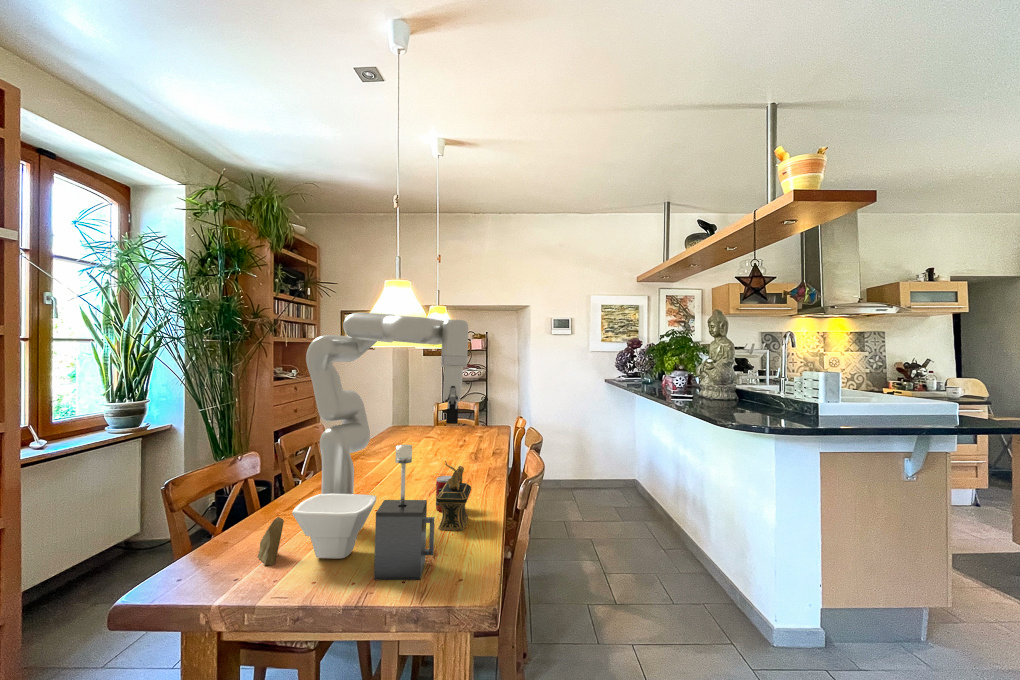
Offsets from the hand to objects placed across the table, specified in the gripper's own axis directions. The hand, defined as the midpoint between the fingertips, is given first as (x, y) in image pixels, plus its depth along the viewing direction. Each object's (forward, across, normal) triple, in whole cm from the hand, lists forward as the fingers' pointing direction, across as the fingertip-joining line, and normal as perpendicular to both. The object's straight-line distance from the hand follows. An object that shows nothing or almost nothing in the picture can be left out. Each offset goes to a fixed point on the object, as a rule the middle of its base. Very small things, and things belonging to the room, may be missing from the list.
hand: (452, 421), depth 149 cm
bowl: (+36, +7, -30) cm, 47 cm away
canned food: (+36, -34, -1) cm, 49 cm away
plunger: (+25, +18, -11) cm, 33 cm away
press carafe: (+35, +18, -10) cm, 41 cm away
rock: (+36, +9, -47) cm, 60 cm away
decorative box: (+35, -16, +1) cm, 39 cm away
